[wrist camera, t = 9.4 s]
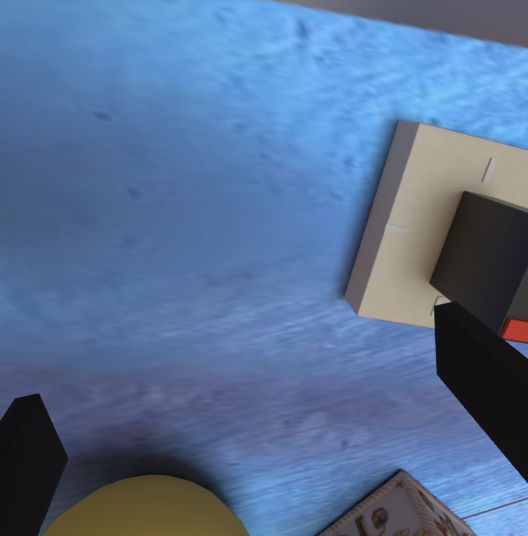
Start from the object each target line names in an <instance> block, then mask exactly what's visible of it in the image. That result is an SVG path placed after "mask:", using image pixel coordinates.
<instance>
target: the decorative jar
mask: <svg viewBox="0 0 528 536" xmlns="http://www.w3.org/2000/svg"><path fill="white" fill-rule="evenodd" d="M319 536H477V535H476V534H475V533H474V532H473V531H472V530H471V529H470V527H468V526H467V525H466V524H465V523H464V522H462V521H461V520H460V519H459V518H458V517H456V516H455V515H454V514H453V513H452V512H451V511H450V510H448V509H447V508H446V507H445V506H444V505H443V504H442V503H441V502H440V501H438V500H437V499H436V498H435V497H434V496H433V495H432V494H430V493H429V492H428V491H427V490H426V489H424V488H423V487H422V486H421V485H420V484H418V483H417V482H416V481H415V480H414V479H413V478H412V477H411V476H409V475H408V474H407V473H405V472H403V471H400V472H399V473H398V474H397V475H395V476H394V477H393V478H391V479H390V480H389V481H388V482H387V483H386V484H384V485H383V486H381V487H380V488H378V489H377V490H376V491H374V492H373V493H372V494H371V495H369V496H368V497H367V498H366V499H364V500H363V501H361V502H360V503H359V504H357V505H356V506H355V507H354V508H352V509H351V510H350V511H349V512H347V513H346V514H345V515H344V516H343V517H341V518H340V519H339V520H338V521H336V522H335V523H334V524H333V525H332V526H330V527H329V528H327V529H326V530H325V531H324V532H322V533H321V534H320V535H319Z"/></svg>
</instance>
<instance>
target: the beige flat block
mask: <svg viewBox="0 0 528 536" xmlns="http://www.w3.org/2000/svg"><path fill="white" fill-rule="evenodd" d="M464 191H468V192H473V193H477V194H481V195H486V196H490V197H494V198H498V199H501V200H504V201H507V202H510V203H513V204H516V205H519V206H522V207H525V208H528V150H526V149H522V148H518V147H514V146H510V145H506V144H502V143H498V142H495V141H491V140H487V139H483V138H479V137H475V136H471V135H467V134H463V133H459V132H455V131H452V130H448V129H444V128H440V127H436V126H432V125H428V124H424V123H419V122H409V121H399V122H398V125H397V128H396V131H395V135H394V138H393V141H392V144H391V147H390V151H389V154H388V157H387V160H386V164H385V167H384V170H383V173H382V176H381V180H380V183H379V186H378V189H377V192H376V196H375V199H374V202H373V205H372V209H371V212H370V215H369V218H368V221H367V225H366V228H365V231H364V234H363V238H362V241H361V244H360V247H359V250H358V254H357V257H356V260H355V263H354V267H353V270H352V273H351V276H350V279H349V283H348V286H347V289H346V292H345V296H344V298H345V299H346V300H347V302H348V303H349V305H350V306H351V308H352V309H353V311H354V312H355V313H356V315H357V316H361V317H367V318H373V319H379V320H386V321H392V322H398V323H404V324H410V325H416V326H422V327H429V328H435V324H434V306H435V305H439V304H444V303H448V302H451V301H450V300H448V299H447V298H446V297H445V296H443V295H442V294H441V293H440V292H439V291H437V290H436V289H435V288H434V287H433V286H431V285H430V284H429V282H430V280H431V277H432V274H433V272H434V269H435V266H436V264H437V261H438V258H439V256H440V253H441V250H442V248H443V245H444V242H445V240H446V237H447V234H448V232H449V229H450V226H451V224H452V221H453V218H454V216H455V213H456V210H457V208H458V205H459V202H460V200H461V197H462V194H463V192H464Z"/></svg>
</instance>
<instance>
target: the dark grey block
mask: <svg viewBox="0 0 528 536" xmlns="http://www.w3.org/2000/svg"><path fill="white" fill-rule="evenodd" d="M429 284H430V285H431V286H433V287H434V288H435V289H436V290H437V291H439V292H440V293H441V294H442V295H443V296H445V297H446V298H447V299H448V300H450V301H451V302H453V301H457V302H458V303H459V304H460V305H462V306H463V307H464V308H465V309H467V310H468V311H469V312H470V313H472V314H473V315H474V316H475V317H476V318H478V319H479V320H480V321H481V322H483V323H484V324H485V325H486V326H488V327H489V328H490V329H491V330H493V331H494V332H495V333H496V334H498V335H499V336H500V337H501V338H503V339H504V340H508V341H514V342H520V343H526V344H528V208H525V207H522V206H519V205H516V204H513V203H510V202H507V201H504V200H501V199H498V198H494V197H490V196H486V195H481V194H477V193H473V192H468V191H464V192H463V194H462V197H461V200H460V202H459V205H458V208H457V210H456V213H455V216H454V218H453V221H452V224H451V226H450V229H449V232H448V234H447V237H446V240H445V242H444V245H443V248H442V250H441V253H440V256H439V258H438V261H437V264H436V266H435V269H434V272H433V274H432V277H431V280H430V282H429Z"/></svg>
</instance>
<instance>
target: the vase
mask: <svg viewBox="0 0 528 536" xmlns="http://www.w3.org/2000/svg"><path fill="white" fill-rule="evenodd" d="M41 536H249V534H248V532H247V530H246V528H245V527H244V525H243V523H242V522H241V521H240V520H239V518H238V517H237V516H236V515H235V514H234V513H233V512H232V511H231V510H230V509H229V508H228V507H227V506H226V505H225V504H224V503H223V502H222V501H220V500H219V499H218V498H217V497H216V496H215V495H214V494H213V493H212V492H211V491H209V490H207V489H205V488H203V487H201V486H199V485H197V484H196V483H194V482H191V481H188V480H184V479H180V478H176V477H172V476H169V475H151V474H150V475H143V476H137V477H131V478H125V479H121V480H118V481H116V482H113V483H110V484H108V485H105V486H102V487H100V488H99V489H97V490H96V491H94V492H93V493H91V494H90V495H88V496H87V497H85V498H84V499H82V500H81V501H79V502H78V503H77V504H75V505H74V506H72V507H71V508H69V509H68V510H67V511H65V512H64V513H62V514H61V515H59V516H58V517H57V518H56V519H55V520H54V521H53V522H52V523H51V525H50V526H49V527H48V528H47V529H46V530H45V532H44V533H43V534H42V535H41Z"/></svg>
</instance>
